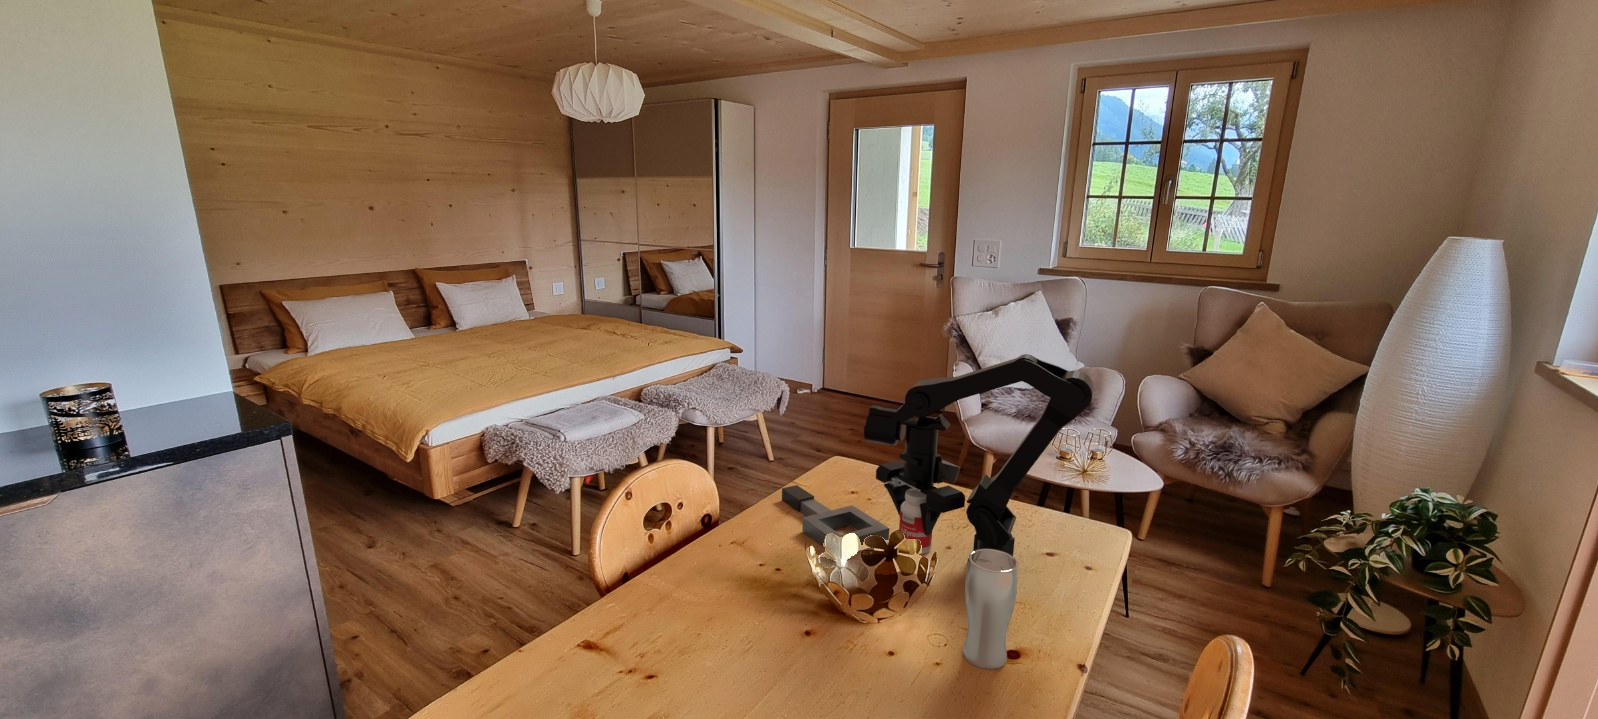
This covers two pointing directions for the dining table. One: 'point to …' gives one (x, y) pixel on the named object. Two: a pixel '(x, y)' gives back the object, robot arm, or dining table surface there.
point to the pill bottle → (914, 519)
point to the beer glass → (989, 606)
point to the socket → (830, 517)
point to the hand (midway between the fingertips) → (915, 528)
